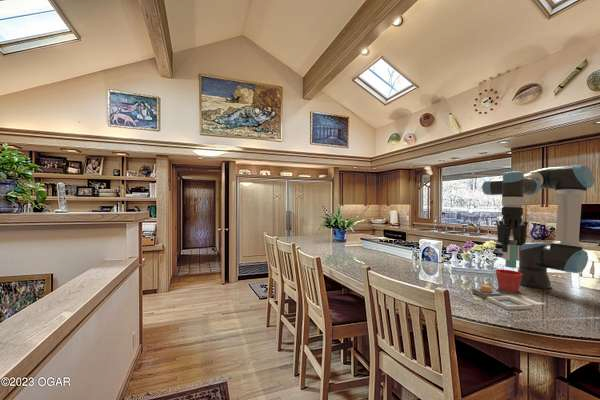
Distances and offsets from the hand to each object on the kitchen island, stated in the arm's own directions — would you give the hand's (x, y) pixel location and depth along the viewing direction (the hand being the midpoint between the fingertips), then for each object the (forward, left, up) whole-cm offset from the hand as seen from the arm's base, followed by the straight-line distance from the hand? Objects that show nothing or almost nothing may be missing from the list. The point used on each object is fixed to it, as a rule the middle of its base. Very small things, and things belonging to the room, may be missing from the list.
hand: (510, 259), depth 120 cm
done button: (+4, -9, -18) cm, 21 cm away
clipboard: (-9, -3, -20) cm, 22 cm away
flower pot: (-15, -17, -20) cm, 30 cm away
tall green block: (0, 0, -3) cm, 3 cm away
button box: (+4, -9, -20) cm, 22 cm away
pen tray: (+3, +2, -20) cm, 20 cm away
